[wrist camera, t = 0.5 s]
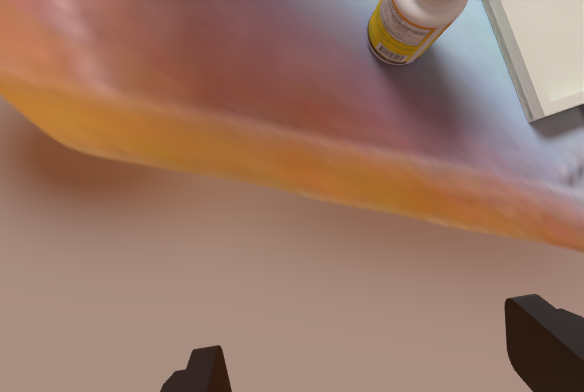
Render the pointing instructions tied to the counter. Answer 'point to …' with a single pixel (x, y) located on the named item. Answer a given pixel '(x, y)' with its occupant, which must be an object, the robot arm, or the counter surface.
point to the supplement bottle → (409, 27)
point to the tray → (542, 51)
